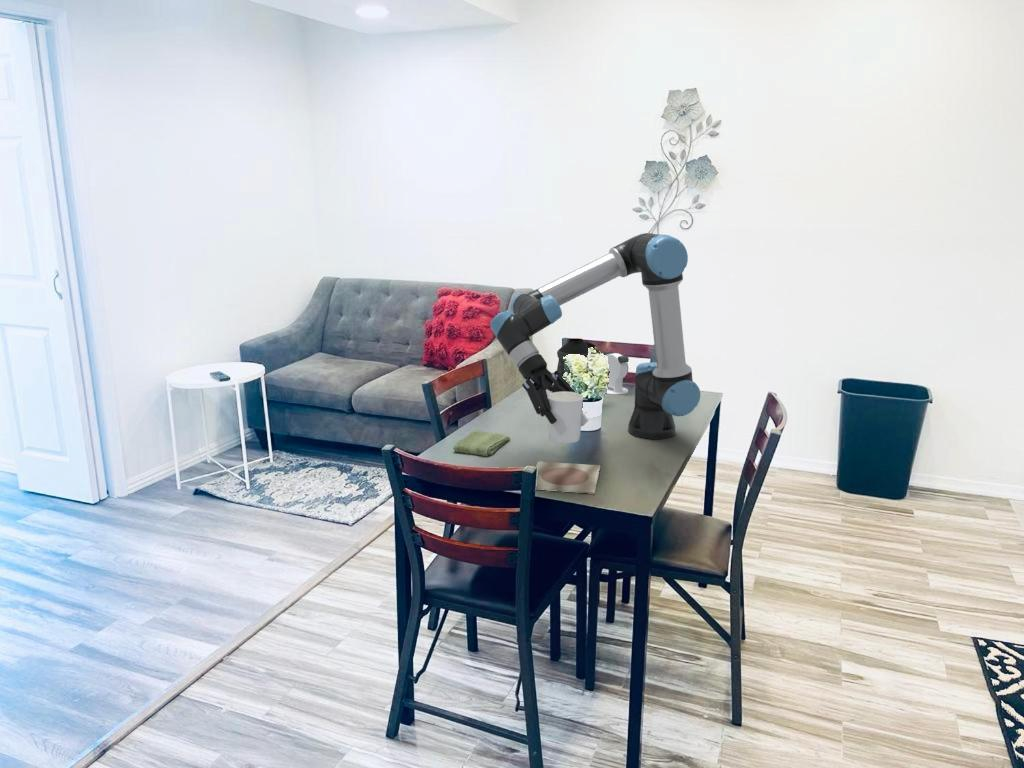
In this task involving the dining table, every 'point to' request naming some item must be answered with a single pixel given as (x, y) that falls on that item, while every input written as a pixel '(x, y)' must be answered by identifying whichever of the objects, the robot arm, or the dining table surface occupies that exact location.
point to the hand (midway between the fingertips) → (574, 427)
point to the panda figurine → (617, 372)
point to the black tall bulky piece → (572, 351)
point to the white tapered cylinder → (566, 415)
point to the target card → (567, 477)
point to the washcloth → (481, 443)
